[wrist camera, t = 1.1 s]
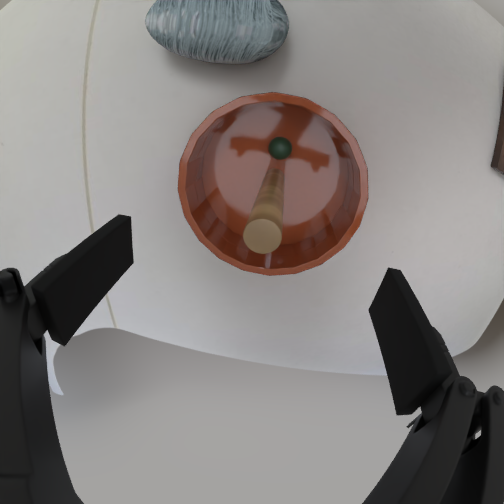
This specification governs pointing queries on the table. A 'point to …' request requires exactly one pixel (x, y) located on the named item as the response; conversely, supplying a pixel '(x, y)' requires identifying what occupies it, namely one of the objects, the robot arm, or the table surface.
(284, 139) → the bead
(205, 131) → the bowl
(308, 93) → the table surface
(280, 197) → the stick
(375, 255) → the table surface
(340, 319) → the table surface
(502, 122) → the brown board
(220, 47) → the blue yarn skein
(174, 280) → the table surface
